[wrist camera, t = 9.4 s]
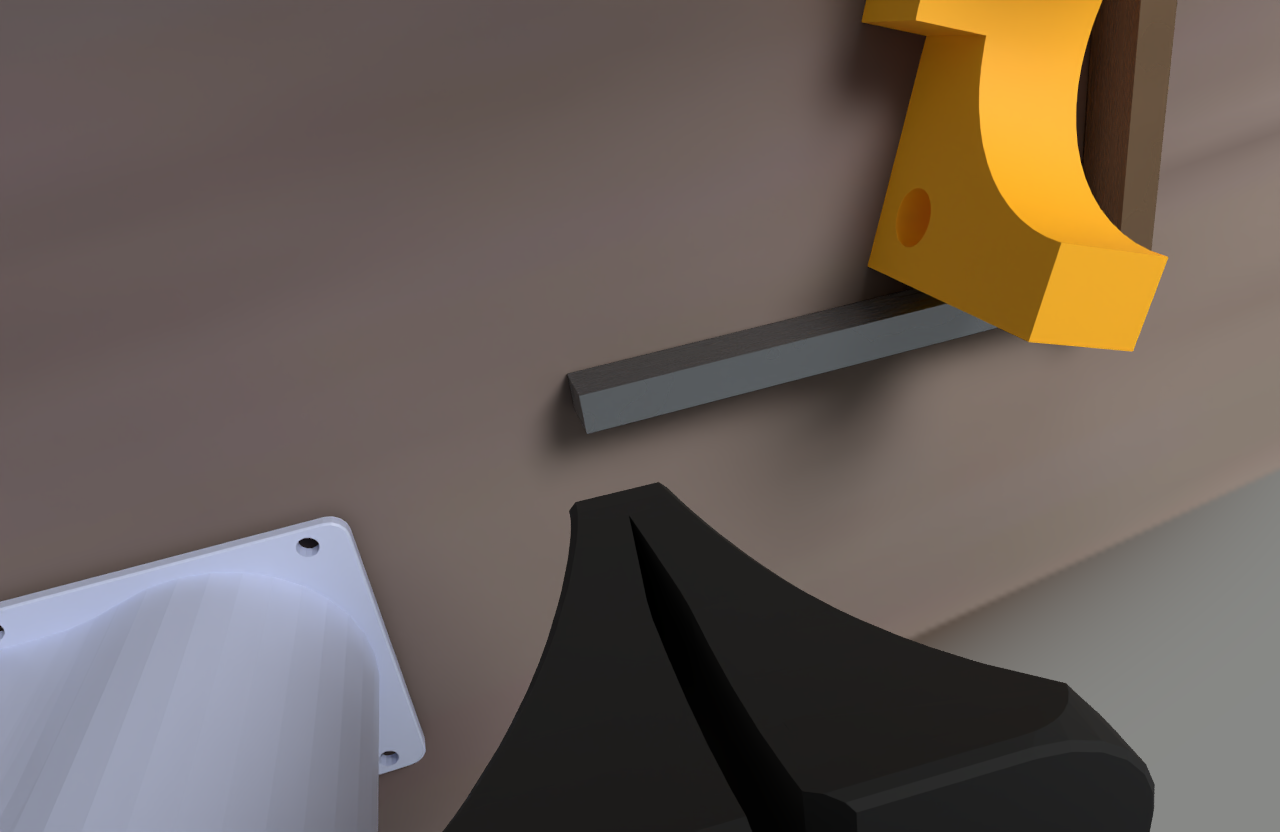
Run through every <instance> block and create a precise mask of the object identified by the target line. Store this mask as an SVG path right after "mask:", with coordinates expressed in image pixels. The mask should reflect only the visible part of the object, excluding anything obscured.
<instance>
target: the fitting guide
mask: <svg viewBox="0 0 1280 832" xmlns="http://www.w3.org/2000/svg"><path fill="white" fill-rule="evenodd" d="M1176 7H1177V0H1102V3H1101V5H1100V8H1099V10H1098V13H1097V15H1096V18H1095V21H1094V23H1093V26H1092V37H1091V53H1090V68H1089V83H1088V98H1087V113H1086V128H1085V143H1084V158H1083V172H1084V175H1085V178H1086V181H1087V183H1088V186H1089V188H1090V190H1091V193H1092V195H1093V197H1094V198H1095V200H1096V202H1097V204H1098V205H1099V207H1100V209H1101V210H1102V211H1103V213H1104V214H1105V215H1106V216H1107V218H1108V219H1109V220H1110V222H1111V223H1112V224H1113V225H1114V226H1115V227H1117V228H1118V229H1119V230H1120V231H1121V232H1122V233H1123V234H1124V235H1126V236H1127V237H1128V238H1130V239H1131V240H1132V241H1134V242H1135V243H1137V244H1139V245H1141V246H1143V247H1144V248H1146V249H1148V250H1150V251H1151V248H1152V238H1153V229H1154V219H1155V210H1156V200H1157V190H1158V181H1159V171H1160V161H1161V152H1162V142H1163V132H1164V123H1165V113H1166V103H1167V94H1168V84H1169V75H1170V65H1171V55H1172V46H1173V36H1174V26H1175V17H1176ZM994 328H998V327H996V326H994V325H991V324H989V323H987V322H985V321H983V320H981V319H979V318H977V317H974V316H972V315H970V314H968V313H966V312H964V311H962V310H960V309H957V308H955V307H953V306H951V305H949V304H947V303H945V302H943V301H940V300H938V299H936V298H934V297H932V296H930V295H928V294H925V293H923V292H921V291H919V290H917V289H915V288H914V289H910V290H906V291H902V292H898V293H894V294H890V295H886V296H882V297H878V298H873V299H869V300H865V301H861V302H857V303H853V304H849V305H845V306H841V307H837V308H833V309H829V310H825V311H821V312H816V313H812V314H808V315H804V316H800V317H796V318H792V319H788V320H784V321H780V322H776V323H772V324H768V325H764V326H760V327H755V328H751V329H747V330H743V331H739V332H735V333H731V334H727V335H723V336H719V337H715V338H711V339H707V340H703V341H699V342H694V343H690V344H686V345H682V346H678V347H674V348H670V349H666V350H662V351H658V352H654V353H650V354H646V355H642V356H637V357H633V358H629V359H625V360H621V361H617V362H613V363H609V364H605V365H601V366H597V367H593V368H589V369H585V370H581V371H576V372H572V373H568V374H567V375H568V380H569V385H570V390H571V395H572V399H573V404H574V409H575V412H576V414H577V416H578V417H579V419H580V421H581V423H582V425H583V427H584V429H585V431H586V433H587V434H589V433H593V432H597V431H601V430H604V429H608V428H612V427H616V426H620V425H624V424H628V423H631V422H635V421H639V420H643V419H647V418H651V417H655V416H658V415H662V414H666V413H670V412H674V411H678V410H682V409H685V408H689V407H693V406H697V405H701V404H705V403H709V402H712V401H716V400H720V399H724V398H728V397H732V396H736V395H739V394H743V393H747V392H751V391H755V390H759V389H763V388H766V387H770V386H774V385H778V384H782V383H786V382H790V381H793V380H797V379H801V378H805V377H809V376H813V375H817V374H821V373H824V372H828V371H832V370H836V369H840V368H844V367H848V366H851V365H855V364H859V363H863V362H867V361H871V360H875V359H878V358H882V357H886V356H890V355H894V354H898V353H902V352H905V351H909V350H913V349H917V348H921V347H925V346H929V345H932V344H936V343H940V342H944V341H948V340H952V339H956V338H959V337H963V336H967V335H971V334H975V333H979V332H983V331H986V330H990V329H994Z"/></svg>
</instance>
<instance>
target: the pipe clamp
mask: <svg viewBox="0 0 1280 832" xmlns="http://www.w3.org/2000/svg"><path fill="white" fill-rule="evenodd" d="M1101 3H1102V0H866V4H865V8H864V13H863V17H862V21H861V22H863V23H868V24H872V25H877V26H882V27H886V28H891V29H896V30H901V31H905V32H910V33H915V34H920V35H924V36H926V39H925V43H924V47H923V51H922V55H921V59H920V63H919V67H918V71H917V75H916V79H915V82H914V86H913V90H912V94H911V98H910V102H909V106H908V110H907V114H906V118H905V122H904V125H903V129H902V133H901V137H900V141H899V145H898V149H897V153H896V157H895V161H894V165H893V169H892V172H891V176H890V180H889V184H888V188H887V192H886V196H885V200H884V204H883V208H882V212H881V215H880V219H879V223H878V227H877V231H876V235H875V239H874V243H873V247H872V251H871V255H870V259H869V262H868V267H870V268H872V269H874V270H877V271H879V272H881V273H883V274H885V275H887V276H889V277H891V278H894V279H896V280H898V281H900V282H902V283H904V284H906V285H908V286H911V287H913V288H915V289H917V290H919V291H921V292H923V293H925V294H928V295H930V296H932V297H934V298H936V299H938V300H940V301H943V302H945V303H947V304H949V305H951V306H953V307H955V308H957V309H960V310H962V311H964V312H966V313H968V314H970V315H972V316H974V317H977V318H979V319H981V320H983V321H985V322H987V323H989V324H991V325H994V326H996V327H998V328H1000V329H1002V330H1004V331H1006V332H1009V333H1011V334H1013V335H1015V336H1017V337H1019V338H1021V339H1023V340H1026V341H1028V342H1035V343H1046V344H1057V345H1068V346H1079V347H1090V348H1101V349H1112V350H1123V351H1133V350H1134V347H1135V344H1136V342H1137V339H1138V336H1139V334H1140V331H1141V328H1142V326H1143V323H1144V321H1145V318H1146V315H1147V313H1148V310H1149V307H1150V305H1151V302H1152V299H1153V297H1154V294H1155V291H1156V289H1157V286H1158V283H1159V281H1160V278H1161V275H1162V273H1163V270H1164V268H1165V265H1166V262H1167V260H1168V257H1167V256H1164V255H1161V254H1158V253H1155V252H1152V251H1150V250H1148V249H1146V248H1144V247H1143V246H1141V245H1139V244H1137V243H1135V242H1134V241H1132V240H1131V239H1130V238H1128V237H1127V236H1126V235H1124V234H1123V233H1122V232H1121V231H1120V230H1119V229H1118V228H1117V227H1115V226H1114V225H1113V224H1112V223H1111V222H1110V220H1109V219H1108V218H1107V216H1106V215H1105V214H1104V213H1103V211H1102V210H1101V209H1100V207H1099V205H1098V204H1097V202H1096V200H1095V198H1094V197H1093V195H1092V193H1091V190H1090V188H1089V186H1088V183H1087V181H1086V178H1085V175H1084V172H1083V168H1082V165H1081V161H1080V155H1079V150H1078V144H1077V132H1076V103H1077V92H1078V84H1079V78H1080V72H1081V66H1082V62H1083V58H1084V54H1085V50H1086V45H1087V42H1088V39H1089V36H1090V33H1091V29H1092V26H1093V23H1094V21H1095V18H1096V15H1097V13H1098V10H1099V8H1100V5H1101Z"/></svg>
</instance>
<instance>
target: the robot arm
mask: <svg viewBox="0 0 1280 832" xmlns="http://www.w3.org/2000/svg"><path fill="white" fill-rule="evenodd" d="M569 512H570V517H571V538H570V547H569V555H568V562H567V567H566V572H565V577H564V582H563V586H562V591H561V595H560V599H559V603H558V606H557V610H556V613H555V616H554V620H553V623H552V627H551V630H550V633H549V637H548V640H547V642H546V645H545V648H544V651H543V654H542V656H541V659H540V662H539V664H538V667H537V669H536V671H535V674H534V676H533V679H532V681H531V683H530V686H529V688H528V690H527V693H526V695H525V697H524V699H523V701H522V703H521V705H520V707H519V709H518V711H517V713H516V715H515V717H514V719H513V721H512V723H511V725H510V727H509V729H508V731H507V733H506V735H505V737H504V738H503V740H502V742H501V744H500V746H499V747H498V749H497V751H496V752H495V754H494V756H493V757H492V759H491V760H490V762H489V764H488V765H487V767H486V768H485V770H484V772H483V773H482V775H481V776H480V778H479V780H478V781H477V783H476V784H475V786H474V788H473V789H472V791H471V792H470V794H469V796H468V797H467V799H466V800H465V802H464V803H463V805H462V806H461V808H460V809H459V810H458V812H457V813H456V815H455V816H454V817H453V819H452V820H451V821H450V823H449V824H448V825H447V827H446V828H445V829H444V831H443V832H1150V827H1151V822H1152V817H1153V811H1154V782H1153V780H1152V778H1151V775H1150V773H1149V770H1148V768H1147V766H1146V764H1145V763H1144V762H1143V761H1142V759H1141V758H1140V757H1139V756H1138V755H1137V754H1136V753H1135V752H1134V751H1133V750H1132V749H1131V747H1130V746H1129V745H1128V744H1127V743H1126V742H1125V741H1124V740H1123V739H1122V738H1121V736H1120V735H1119V734H1118V733H1117V732H1116V731H1115V730H1114V729H1113V728H1112V727H1111V726H1110V725H1109V724H1108V723H1107V722H1106V720H1105V719H1104V718H1103V717H1102V716H1101V715H1100V714H1099V713H1098V712H1097V711H1095V710H1094V709H1093V708H1092V707H1091V706H1090V705H1089V704H1088V703H1087V702H1085V701H1084V700H1083V699H1082V698H1081V697H1080V696H1079V695H1078V694H1077V693H1075V692H1074V691H1073V690H1072V689H1071V688H1070V687H1069V686H1068V685H1067V684H1066V683H1063V682H1058V681H1054V680H1049V679H1046V678H1041V677H1037V676H1033V675H1029V674H1025V673H1020V672H1016V671H1011V670H1008V669H1004V668H999V667H995V666H991V665H987V664H983V663H979V662H976V661H973V660H969V659H966V658H963V657H960V656H956V655H953V654H950V653H947V652H944V651H941V650H938V649H934V648H931V647H928V646H926V645H923V644H920V643H917V642H914V641H912V640H909V639H906V638H903V637H901V636H898V635H896V634H893V633H891V632H888V631H886V630H884V629H881V628H879V627H876V626H874V625H872V624H869V623H867V622H864V621H862V620H860V619H857V618H855V617H853V616H851V615H849V614H847V613H844V612H842V611H840V610H838V609H836V608H834V607H832V606H830V605H828V604H826V603H825V602H823V601H821V600H819V599H817V598H815V597H813V596H811V595H809V594H807V593H806V592H804V591H802V590H800V589H799V588H797V587H795V586H794V585H792V584H790V583H789V582H787V581H786V580H784V579H782V578H781V577H779V576H778V575H776V574H775V573H773V572H772V571H770V570H769V569H767V568H766V567H764V566H763V565H761V564H760V563H758V562H757V561H755V560H754V559H753V558H751V557H750V556H748V555H747V554H745V553H744V552H743V551H741V550H740V549H739V548H738V547H736V546H735V545H734V544H732V543H731V542H730V541H728V540H727V539H726V538H724V537H723V536H722V535H720V534H719V533H718V532H717V531H715V530H714V529H713V528H712V527H710V526H709V525H708V524H707V523H706V522H704V521H703V520H702V519H701V518H700V517H699V516H697V515H696V514H695V513H694V512H693V511H692V510H690V509H689V508H688V507H687V506H686V505H685V504H684V503H683V502H682V501H680V500H679V499H678V498H677V497H676V496H675V495H674V494H673V493H672V492H671V491H670V490H669V489H668V488H667V487H665V486H664V485H662V484H661V483H659V482H657V483H653V484H649V485H645V486H641V487H637V488H632V489H628V490H624V491H620V492H616V493H612V494H608V495H603V496H599V497H595V498H591V499H587V500H583V501H579V502H575V504H574V505H573V506H572V508H571V509H570V511H569ZM303 538H312V539H315V540H316V541H317V542H318V543H319V544H318V545H317V546H315V547H314V548H305V547H302V546H301V545H300V544H299V543H298V541H299V540H301V539H303ZM0 626H1V627H3V628H4V631H0V832H378V786H379V775H380V774H383V773H386V772H389V771H393V770H396V769H399V768H402V767H405V766H408V765H412V764H414V763H416V762H418V761H419V760H420V759H421V758H422V757H423V756H424V754H425V751H426V749H425V737H424V734H423V732H422V729H421V726H420V723H419V720H418V717H417V715H416V712H415V709H414V706H413V703H412V701H411V698H410V695H409V692H408V689H407V686H406V684H405V681H404V678H403V675H402V672H401V669H400V667H399V664H398V661H397V658H396V655H395V653H394V650H393V647H392V644H391V641H390V638H389V636H388V633H387V630H386V627H385V624H384V621H383V619H382V616H381V613H380V610H379V607H378V605H377V602H376V599H375V596H374V593H373V590H372V588H371V585H370V582H369V579H368V576H367V573H366V571H365V568H364V565H363V562H362V559H361V557H360V554H359V551H358V548H357V545H356V542H355V540H354V537H353V534H352V531H351V529H350V527H349V525H348V524H347V522H345V521H344V520H342V519H341V518H337V517H333V516H330V517H322V518H318V519H314V520H311V521H307V522H303V523H299V524H295V525H291V526H288V527H284V528H280V529H276V530H272V531H269V532H265V533H261V534H257V535H253V536H249V537H246V538H242V539H238V540H234V541H230V542H227V543H223V544H219V545H215V546H211V547H207V548H204V549H200V550H196V551H192V552H188V553H185V554H181V555H177V556H173V557H169V558H166V559H162V560H158V561H154V562H150V563H146V564H143V565H139V566H135V567H131V568H127V569H124V570H120V571H116V572H112V573H108V574H104V575H101V576H97V577H93V578H89V579H85V580H82V581H78V582H74V583H70V584H66V585H62V586H59V587H55V588H51V589H47V590H43V591H40V592H36V593H32V594H28V595H24V596H20V597H17V598H13V599H9V600H5V601H1V602H0ZM386 751H394V752H396V753H394V754H392V755H383V754H382V753H384V752H386Z"/></svg>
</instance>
